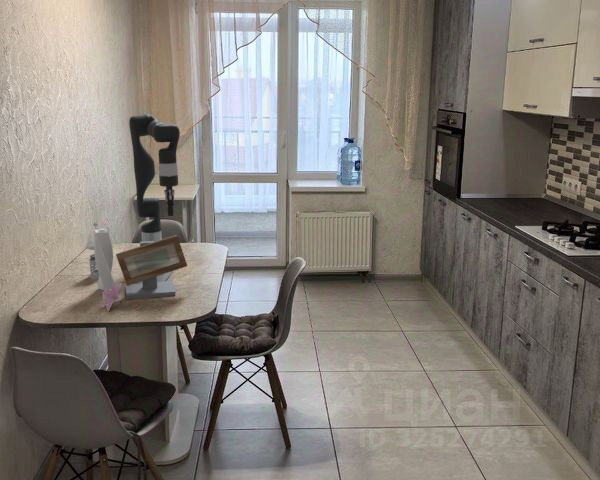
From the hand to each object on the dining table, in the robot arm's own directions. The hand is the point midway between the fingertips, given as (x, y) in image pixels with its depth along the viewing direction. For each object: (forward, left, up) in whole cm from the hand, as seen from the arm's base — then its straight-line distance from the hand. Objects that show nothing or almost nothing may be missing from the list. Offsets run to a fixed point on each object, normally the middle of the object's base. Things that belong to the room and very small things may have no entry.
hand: (170, 215), depth 265 cm
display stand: (-2, -10, -33) cm, 34 cm away
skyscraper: (-11, -28, -33) cm, 45 cm away
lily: (+14, -25, -33) cm, 44 cm away
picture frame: (0, -7, -25) cm, 26 cm away
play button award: (-22, -9, -34) cm, 41 cm away
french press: (-33, -31, -33) cm, 56 cm away
